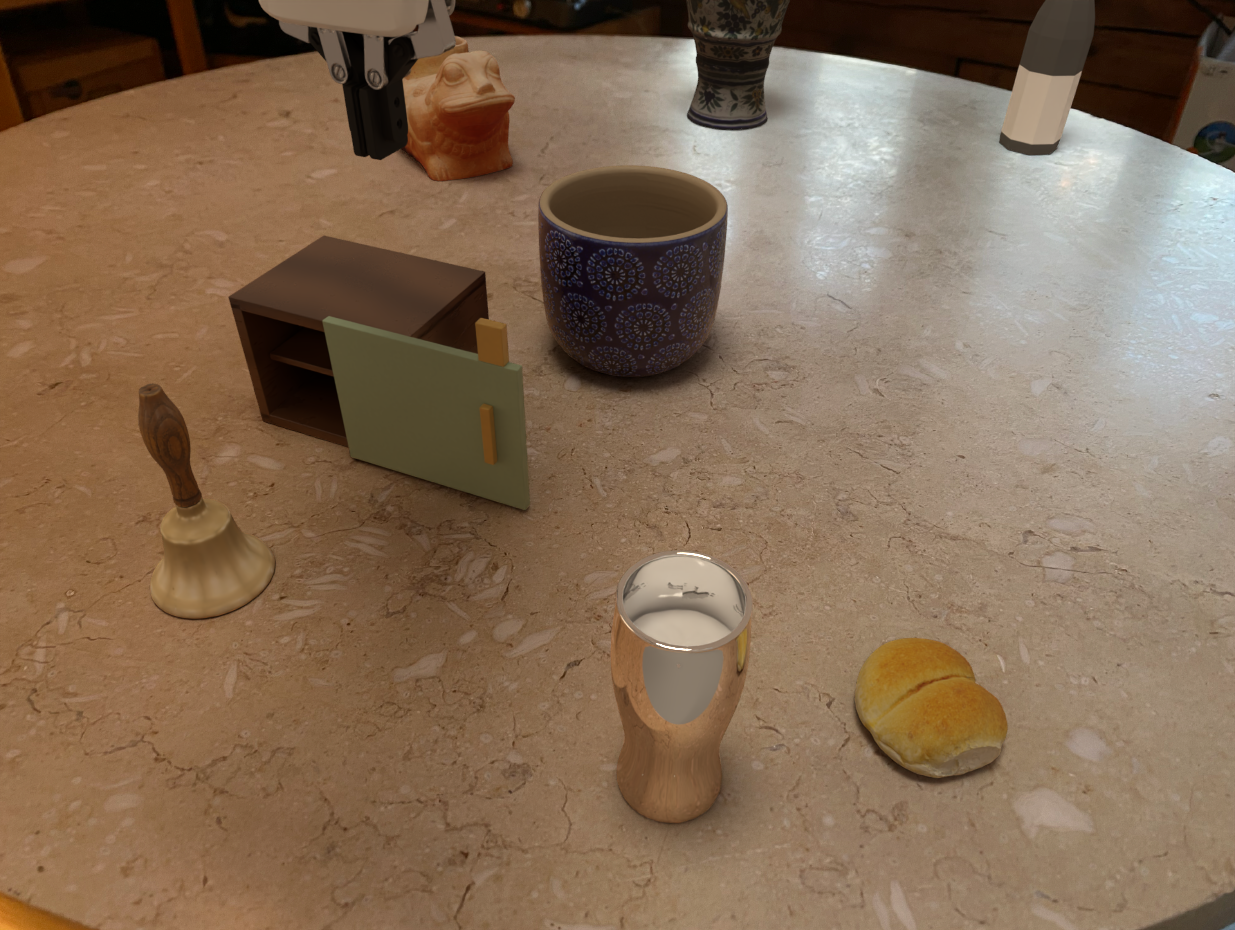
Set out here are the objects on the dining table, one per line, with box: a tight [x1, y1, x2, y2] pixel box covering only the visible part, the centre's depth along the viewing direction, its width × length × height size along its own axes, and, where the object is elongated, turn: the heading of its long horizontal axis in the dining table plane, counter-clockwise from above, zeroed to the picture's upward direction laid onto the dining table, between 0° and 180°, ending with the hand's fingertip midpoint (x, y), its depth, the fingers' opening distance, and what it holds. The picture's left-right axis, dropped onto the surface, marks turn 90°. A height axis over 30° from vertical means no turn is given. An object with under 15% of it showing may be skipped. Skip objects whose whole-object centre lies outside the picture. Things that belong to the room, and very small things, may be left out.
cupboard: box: [227, 235, 490, 448], centre depth 78 cm, size 12×16×12 cm
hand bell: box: [137, 383, 276, 620], centre depth 61 cm, size 8×8×16 cm
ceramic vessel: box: [401, 35, 516, 182], centre depth 124 cm, size 14×26×15 cm, turn 30°
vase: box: [685, 0, 791, 131], centre depth 133 cm, size 17×17×30 cm
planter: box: [537, 164, 729, 378], centre depth 86 cm, size 17×17×15 cm
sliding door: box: [322, 316, 531, 511], centre depth 69 cm, size 1×16×16 cm, turn 67°
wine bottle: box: [998, 0, 1096, 156], centre depth 125 cm, size 8×8×30 cm
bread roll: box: [854, 637, 1009, 779], centre depth 56 cm, size 8×9×4 cm
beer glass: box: [609, 549, 754, 824], centre depth 49 cm, size 7×7×15 cm
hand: (382, 150), depth 55 cm, fingers closed
